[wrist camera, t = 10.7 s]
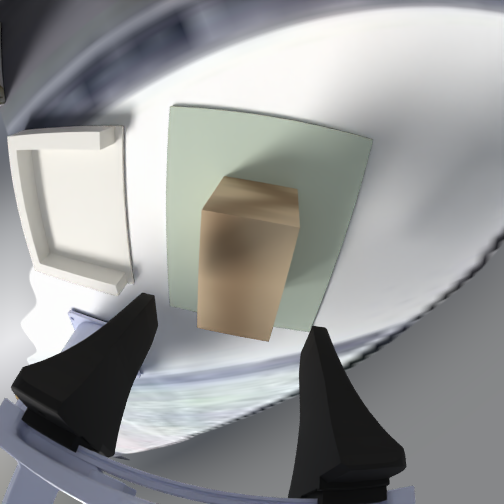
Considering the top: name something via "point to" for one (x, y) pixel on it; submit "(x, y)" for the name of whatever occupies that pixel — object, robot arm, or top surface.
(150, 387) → the top surface
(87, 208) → the shelf slot
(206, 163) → the stand mat
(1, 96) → the coffee box
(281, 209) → the oak block
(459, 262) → the top surface
